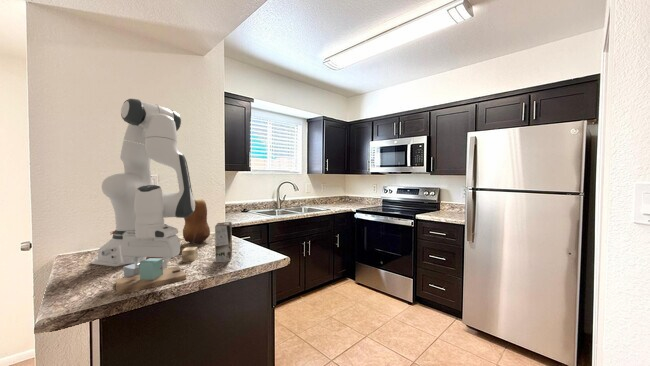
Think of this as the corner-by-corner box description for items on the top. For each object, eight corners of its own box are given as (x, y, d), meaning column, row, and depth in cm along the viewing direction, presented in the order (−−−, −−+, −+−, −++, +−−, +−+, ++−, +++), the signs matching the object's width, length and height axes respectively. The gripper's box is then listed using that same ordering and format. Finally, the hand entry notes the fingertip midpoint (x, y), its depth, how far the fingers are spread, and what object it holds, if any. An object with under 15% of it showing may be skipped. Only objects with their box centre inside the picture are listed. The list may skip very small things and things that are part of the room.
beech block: (182, 261, 117) (181, 250, 117) (186, 258, 122) (185, 247, 122) (194, 261, 118) (194, 250, 118) (197, 257, 123) (197, 246, 123)
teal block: (140, 279, 94) (139, 262, 94) (150, 274, 99) (149, 258, 99) (153, 279, 94) (152, 263, 93) (163, 274, 99) (162, 258, 98)
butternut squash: (194, 239, 155) (193, 197, 154) (215, 241, 152) (214, 197, 151) (176, 246, 141) (175, 199, 140) (199, 247, 139) (198, 200, 138)
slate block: (124, 277, 100) (123, 266, 100) (135, 273, 104) (134, 263, 104) (133, 279, 98) (133, 269, 98) (144, 275, 102) (144, 265, 101)
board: (117, 295, 85) (117, 288, 85) (115, 283, 94) (115, 277, 94) (186, 278, 98) (186, 273, 98) (178, 269, 107) (178, 264, 107)
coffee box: (230, 261, 117) (230, 225, 117) (215, 262, 116) (214, 226, 115) (232, 255, 126) (232, 221, 126) (218, 256, 125) (217, 222, 124)
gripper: (115, 232, 93) (116, 270, 94) (171, 233, 92) (172, 272, 92) (130, 228, 99) (131, 264, 100) (182, 229, 98) (183, 266, 98)
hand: (151, 268), depth 96 cm, fingers open, 8 cm apart
